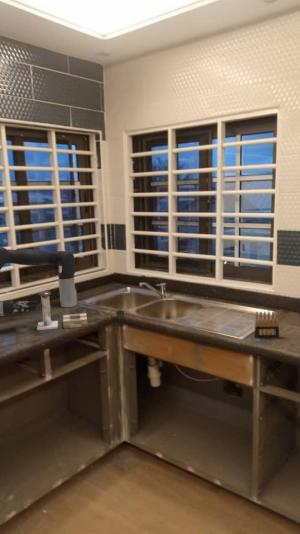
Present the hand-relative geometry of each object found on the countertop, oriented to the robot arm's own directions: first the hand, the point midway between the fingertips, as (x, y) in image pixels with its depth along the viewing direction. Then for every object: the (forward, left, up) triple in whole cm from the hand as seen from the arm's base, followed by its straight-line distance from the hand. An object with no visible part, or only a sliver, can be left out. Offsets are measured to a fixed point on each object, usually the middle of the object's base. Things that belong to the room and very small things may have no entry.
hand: (36, 305), depth 209 cm
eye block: (-13, +13, -12) cm, 22 cm away
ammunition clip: (-40, +105, -12) cm, 113 cm away
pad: (-3, +3, -12) cm, 13 cm away
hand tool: (-27, +33, -12) cm, 44 cm away
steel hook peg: (-3, +3, -11) cm, 12 cm away
